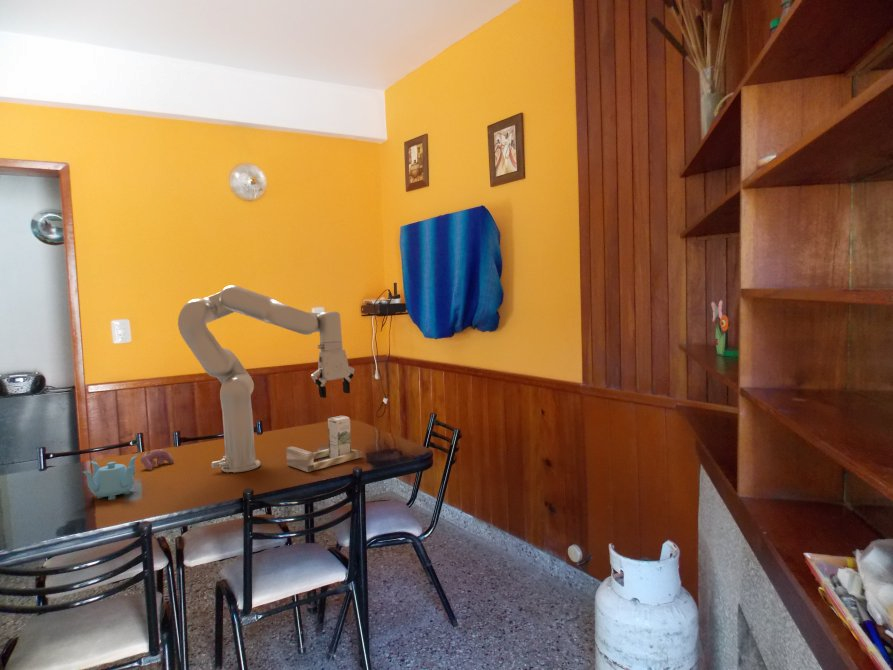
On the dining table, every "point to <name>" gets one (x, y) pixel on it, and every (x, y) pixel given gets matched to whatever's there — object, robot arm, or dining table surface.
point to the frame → (306, 458)
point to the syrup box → (339, 436)
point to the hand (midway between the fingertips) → (335, 395)
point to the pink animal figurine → (158, 454)
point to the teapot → (111, 479)
